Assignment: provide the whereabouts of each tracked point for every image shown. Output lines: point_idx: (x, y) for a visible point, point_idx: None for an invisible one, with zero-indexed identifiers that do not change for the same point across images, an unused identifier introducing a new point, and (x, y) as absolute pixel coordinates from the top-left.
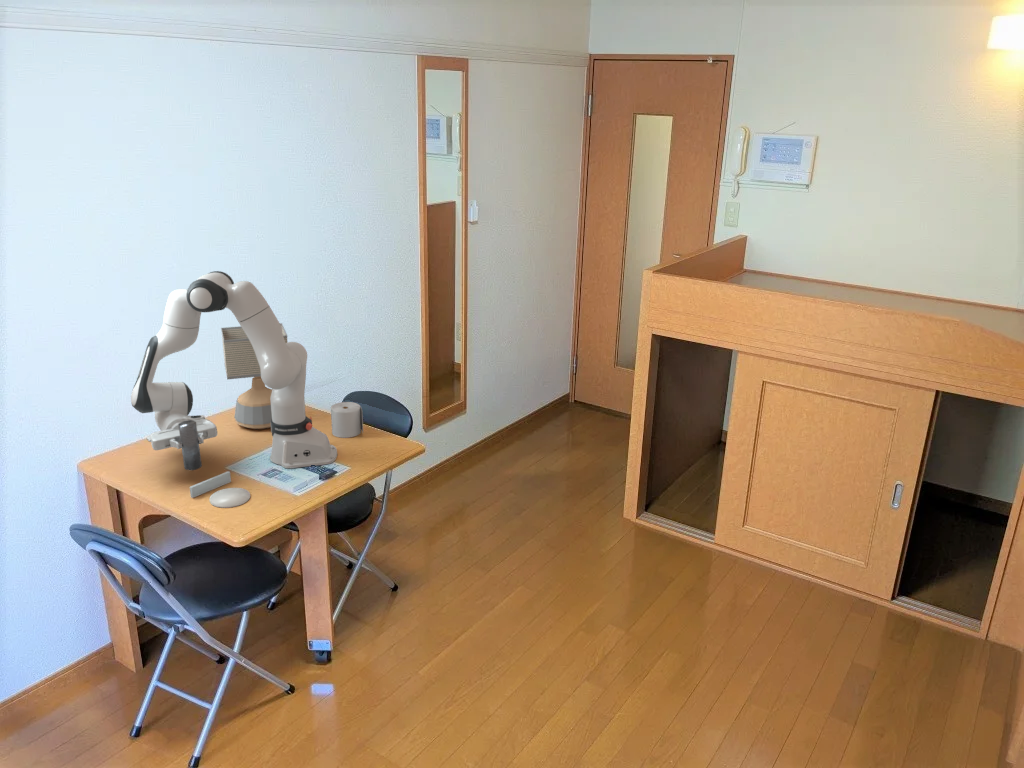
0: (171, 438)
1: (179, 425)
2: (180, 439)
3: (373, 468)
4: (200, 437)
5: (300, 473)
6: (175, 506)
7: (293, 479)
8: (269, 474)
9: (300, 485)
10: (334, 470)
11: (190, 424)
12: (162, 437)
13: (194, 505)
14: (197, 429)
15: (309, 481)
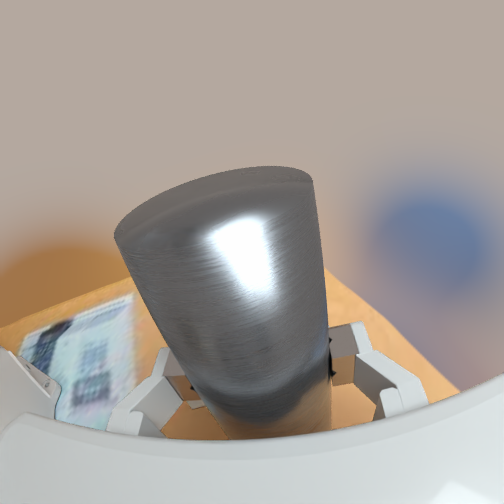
0: (413, 412)
1: (302, 177)
2: (328, 337)
3: (21, 321)
4: (165, 364)
5: (66, 357)
6: (379, 320)
7: (90, 343)
8: (98, 387)
9: (103, 319)
10: (38, 339)
11: (195, 187)
12: (502, 407)
13: (330, 314)
14: (104, 463)
15: (84, 325)
